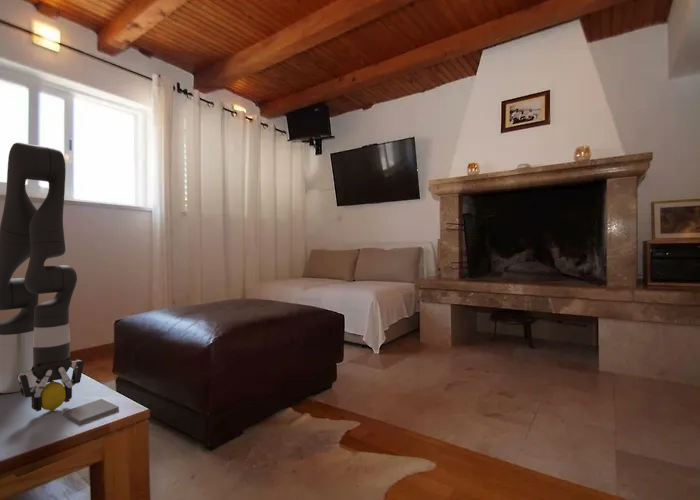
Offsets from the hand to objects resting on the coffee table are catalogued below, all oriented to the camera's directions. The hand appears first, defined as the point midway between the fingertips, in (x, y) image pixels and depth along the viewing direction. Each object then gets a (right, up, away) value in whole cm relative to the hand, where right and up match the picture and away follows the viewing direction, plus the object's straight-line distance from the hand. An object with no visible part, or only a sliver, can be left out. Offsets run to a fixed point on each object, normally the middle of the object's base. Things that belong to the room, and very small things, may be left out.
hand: (52, 405), depth 96 cm
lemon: (0, -2, 0) cm, 2 cm away
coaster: (+11, -2, -1) cm, 11 cm away
